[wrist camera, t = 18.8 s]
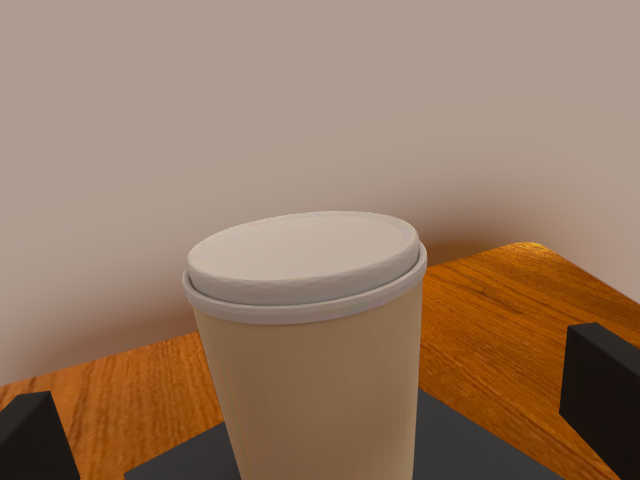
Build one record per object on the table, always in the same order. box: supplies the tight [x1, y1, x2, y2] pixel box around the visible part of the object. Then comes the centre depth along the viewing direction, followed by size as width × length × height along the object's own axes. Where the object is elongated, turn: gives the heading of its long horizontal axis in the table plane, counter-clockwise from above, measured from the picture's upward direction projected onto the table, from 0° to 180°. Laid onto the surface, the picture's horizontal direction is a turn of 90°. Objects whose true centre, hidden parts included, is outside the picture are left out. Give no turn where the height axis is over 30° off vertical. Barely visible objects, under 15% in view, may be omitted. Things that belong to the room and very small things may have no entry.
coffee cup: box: [182, 211, 427, 480], centre depth 17 cm, size 9×9×12 cm
